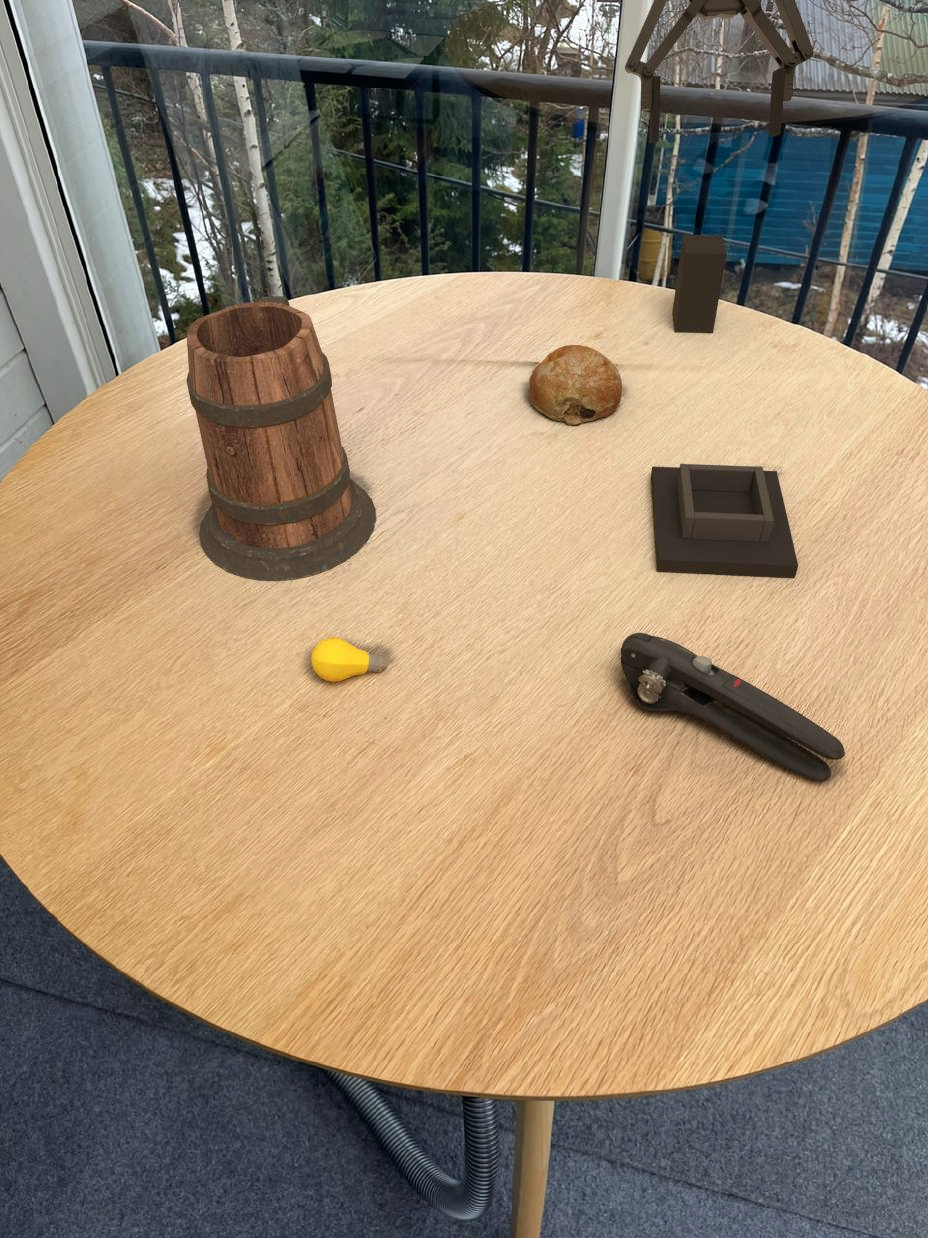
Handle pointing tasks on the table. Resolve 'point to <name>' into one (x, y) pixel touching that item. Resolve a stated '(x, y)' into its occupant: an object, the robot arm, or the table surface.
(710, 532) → the base pad
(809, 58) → the robot arm
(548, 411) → the bread roll
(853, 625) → the table surface
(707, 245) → the tall dark pillar
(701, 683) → the can opener
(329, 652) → the light bulb
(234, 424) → the tankard
